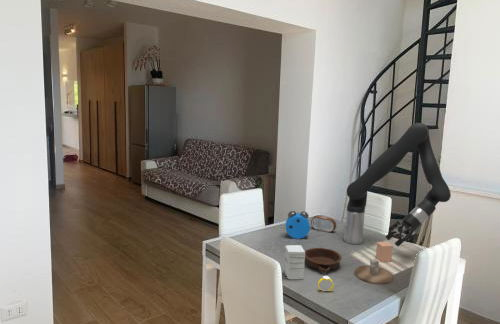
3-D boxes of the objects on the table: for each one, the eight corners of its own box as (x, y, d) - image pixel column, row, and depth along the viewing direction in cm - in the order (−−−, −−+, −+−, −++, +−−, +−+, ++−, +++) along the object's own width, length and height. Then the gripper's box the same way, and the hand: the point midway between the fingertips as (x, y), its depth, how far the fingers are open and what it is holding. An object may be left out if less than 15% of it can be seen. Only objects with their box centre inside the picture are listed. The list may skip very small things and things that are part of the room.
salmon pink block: (380, 262, 180) (382, 246, 179) (375, 257, 185) (377, 242, 184) (391, 261, 181) (392, 245, 179) (385, 257, 186) (386, 241, 185)
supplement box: (283, 272, 167) (284, 245, 165) (300, 272, 168) (301, 244, 165) (286, 280, 160) (288, 251, 158) (304, 279, 160) (305, 251, 158)
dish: (303, 274, 166) (304, 263, 165) (302, 254, 188) (302, 244, 187) (344, 277, 164) (344, 266, 163) (338, 256, 186) (338, 247, 185)
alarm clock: (308, 236, 213) (309, 210, 210) (309, 240, 206) (310, 213, 204) (285, 234, 213) (286, 209, 211) (285, 238, 207) (286, 212, 205)
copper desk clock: (336, 232, 219) (337, 218, 218) (334, 234, 217) (335, 220, 215) (311, 227, 227) (312, 213, 226) (309, 228, 225) (310, 215, 223)
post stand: (350, 277, 163) (351, 262, 162) (360, 264, 177) (361, 250, 176) (388, 287, 155) (390, 271, 154) (396, 273, 169) (397, 258, 168)
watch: (331, 290, 153) (333, 276, 152) (333, 293, 150) (335, 279, 149) (316, 288, 153) (318, 275, 152) (317, 292, 150) (319, 278, 149)
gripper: (402, 208, 188) (379, 231, 188) (419, 217, 174) (394, 242, 174) (411, 218, 190) (388, 241, 190) (429, 228, 176) (404, 252, 176)
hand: (391, 241), depth 182 cm, fingers open, 8 cm apart
